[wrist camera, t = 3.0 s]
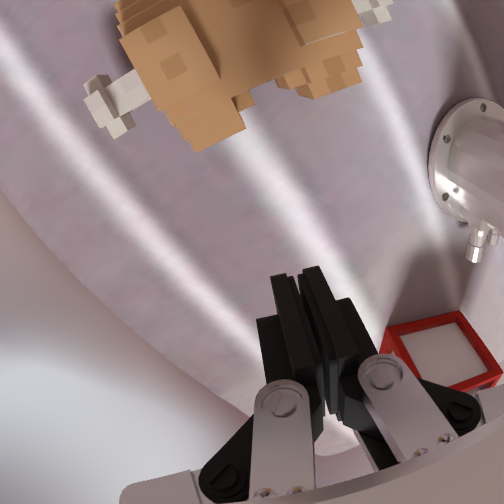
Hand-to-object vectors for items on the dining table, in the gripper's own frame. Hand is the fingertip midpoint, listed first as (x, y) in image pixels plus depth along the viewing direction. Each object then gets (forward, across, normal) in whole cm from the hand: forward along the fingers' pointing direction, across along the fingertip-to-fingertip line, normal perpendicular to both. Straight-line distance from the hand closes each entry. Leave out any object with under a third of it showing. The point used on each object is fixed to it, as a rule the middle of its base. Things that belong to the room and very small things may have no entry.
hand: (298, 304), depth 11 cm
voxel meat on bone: (+16, -1, -10) cm, 19 cm away
